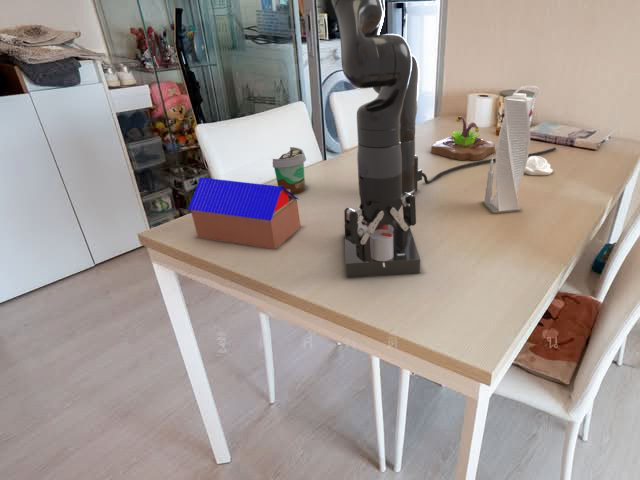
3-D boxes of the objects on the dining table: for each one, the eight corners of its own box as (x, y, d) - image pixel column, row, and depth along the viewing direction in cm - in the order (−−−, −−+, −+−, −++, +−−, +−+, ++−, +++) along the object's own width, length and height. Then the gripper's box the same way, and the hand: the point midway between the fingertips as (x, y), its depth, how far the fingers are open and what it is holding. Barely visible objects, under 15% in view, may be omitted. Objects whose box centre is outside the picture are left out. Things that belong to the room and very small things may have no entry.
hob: (345, 236, 102) (344, 223, 100) (407, 233, 103) (407, 220, 101) (346, 283, 85) (345, 268, 83) (421, 278, 86) (421, 264, 85)
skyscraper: (513, 200, 119) (529, 82, 104) (527, 212, 113) (546, 88, 97) (482, 203, 118) (494, 83, 102) (494, 215, 111) (509, 89, 96)
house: (276, 249, 96) (266, 196, 90) (195, 237, 101) (181, 186, 95) (302, 226, 106) (296, 177, 99) (228, 216, 111) (217, 169, 104)
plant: (452, 140, 168) (454, 108, 162) (501, 149, 159) (505, 115, 153) (422, 153, 155) (423, 118, 149) (474, 163, 145) (477, 127, 139)
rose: (534, 149, 142) (561, 156, 136) (532, 164, 145) (558, 171, 139) (514, 156, 137) (542, 163, 131) (512, 170, 139) (539, 178, 133)
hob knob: (366, 259, 86) (365, 235, 84) (376, 249, 90) (375, 226, 87) (388, 263, 85) (388, 239, 82) (397, 252, 89) (397, 230, 86)
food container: (299, 198, 121) (294, 160, 115) (277, 197, 122) (271, 159, 116) (315, 183, 131) (312, 147, 125) (295, 181, 132) (290, 146, 126)
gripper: (400, 156, 84) (400, 237, 93) (332, 171, 77) (339, 256, 86) (426, 167, 79) (423, 250, 88) (355, 183, 72) (361, 272, 81)
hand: (382, 253), depth 87 cm, fingers open, 8 cm apart
